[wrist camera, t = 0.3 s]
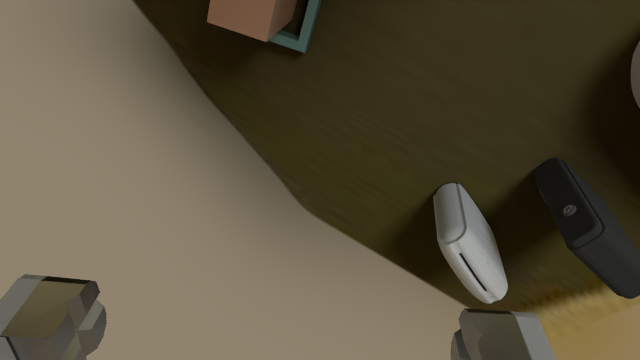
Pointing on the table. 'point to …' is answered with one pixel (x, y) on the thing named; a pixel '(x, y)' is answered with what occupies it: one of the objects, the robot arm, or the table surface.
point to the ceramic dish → (304, 39)
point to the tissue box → (636, 74)
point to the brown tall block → (252, 16)
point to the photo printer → (468, 243)
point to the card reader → (590, 228)
